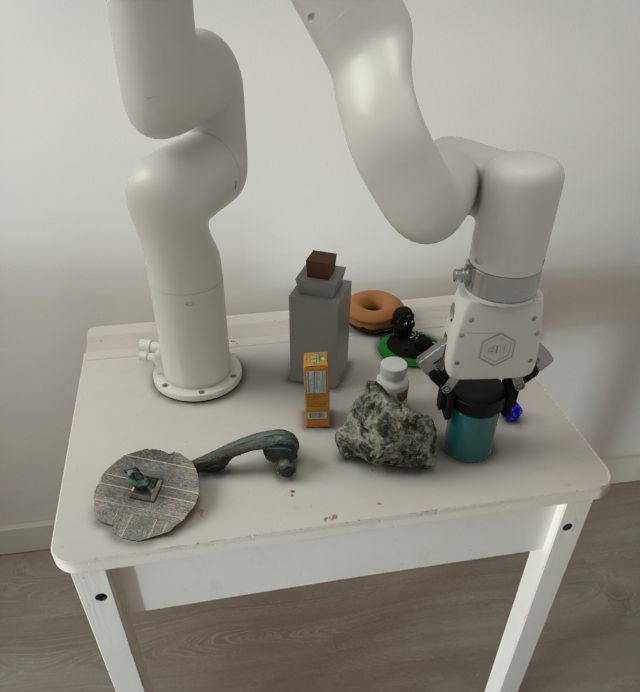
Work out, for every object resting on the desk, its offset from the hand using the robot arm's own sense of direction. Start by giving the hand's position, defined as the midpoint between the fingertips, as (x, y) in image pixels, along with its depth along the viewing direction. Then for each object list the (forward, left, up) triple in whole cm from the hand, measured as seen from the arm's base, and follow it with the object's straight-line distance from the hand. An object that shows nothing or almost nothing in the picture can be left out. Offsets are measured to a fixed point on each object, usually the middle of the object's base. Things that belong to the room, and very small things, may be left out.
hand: (474, 410), depth 80 cm
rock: (-10, -5, -6) cm, 13 cm away
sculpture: (-37, -21, -8) cm, 43 cm away
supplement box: (-20, 0, -6) cm, 21 cm away
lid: (0, 0, +3) cm, 3 cm away
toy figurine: (-11, +21, -6) cm, 24 cm away
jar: (0, 0, -6) cm, 6 cm away
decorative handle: (-26, -12, -6) cm, 30 cm away
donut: (-18, +27, -2) cm, 32 cm away
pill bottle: (-11, +5, -6) cm, 13 cm away
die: (+5, +8, -6) cm, 11 cm away
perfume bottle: (-23, +11, -6) cm, 26 cm away
